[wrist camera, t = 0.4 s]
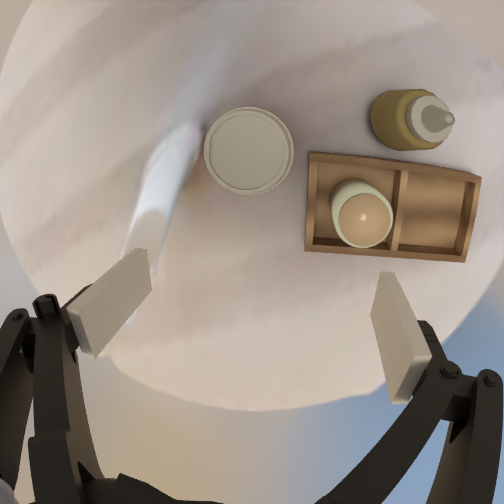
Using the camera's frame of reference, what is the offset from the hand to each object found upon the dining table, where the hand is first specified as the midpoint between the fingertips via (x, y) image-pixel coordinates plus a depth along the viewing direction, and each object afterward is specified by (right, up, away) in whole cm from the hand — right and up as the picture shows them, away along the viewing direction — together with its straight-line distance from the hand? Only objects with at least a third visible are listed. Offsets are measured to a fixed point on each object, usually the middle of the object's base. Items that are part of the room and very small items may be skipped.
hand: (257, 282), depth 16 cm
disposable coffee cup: (+1, +16, +24) cm, 29 cm away
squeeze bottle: (+19, +20, +19) cm, 33 cm away
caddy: (+20, +8, +24) cm, 32 cm away
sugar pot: (+14, +8, +24) cm, 28 cm away
